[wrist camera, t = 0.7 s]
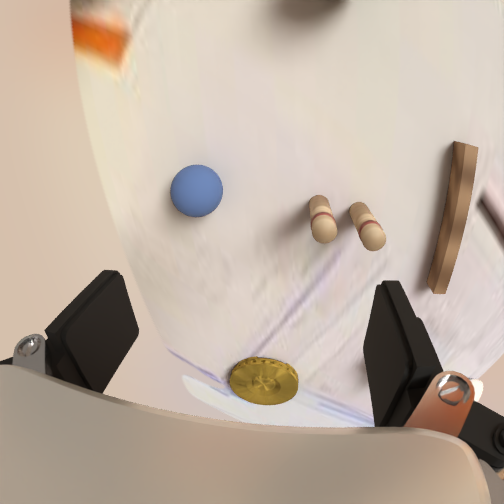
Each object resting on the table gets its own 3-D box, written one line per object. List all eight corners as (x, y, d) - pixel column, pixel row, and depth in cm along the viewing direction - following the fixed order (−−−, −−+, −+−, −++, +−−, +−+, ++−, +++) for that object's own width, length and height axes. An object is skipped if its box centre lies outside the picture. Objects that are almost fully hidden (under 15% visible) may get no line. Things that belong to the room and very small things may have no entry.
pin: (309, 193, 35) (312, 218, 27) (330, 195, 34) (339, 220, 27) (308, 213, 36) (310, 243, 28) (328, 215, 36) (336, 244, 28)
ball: (180, 161, 35) (159, 171, 30) (227, 160, 34) (214, 170, 29) (183, 207, 38) (165, 224, 32) (228, 208, 37) (216, 225, 32)
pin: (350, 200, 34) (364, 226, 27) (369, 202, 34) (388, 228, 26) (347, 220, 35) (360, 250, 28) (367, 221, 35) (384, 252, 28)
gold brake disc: (227, 387, 54) (225, 396, 52) (238, 347, 48) (235, 357, 46) (287, 401, 53) (286, 409, 51) (307, 363, 48) (307, 372, 46)
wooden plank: (454, 140, 28) (465, 144, 26) (466, 143, 28) (478, 147, 26) (426, 282, 37) (433, 293, 35) (437, 282, 37) (445, 293, 34)
